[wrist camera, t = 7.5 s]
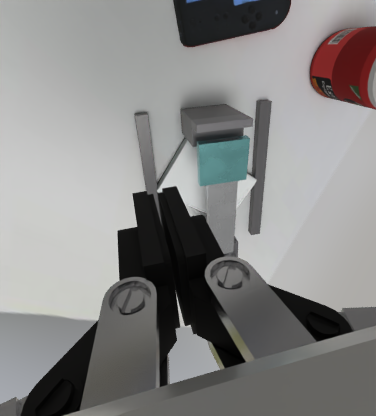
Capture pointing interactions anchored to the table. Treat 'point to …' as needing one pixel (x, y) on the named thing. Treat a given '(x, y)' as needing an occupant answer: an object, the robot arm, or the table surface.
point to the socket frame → (208, 130)
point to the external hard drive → (194, 179)
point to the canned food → (347, 67)
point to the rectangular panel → (222, 184)
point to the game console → (226, 18)
